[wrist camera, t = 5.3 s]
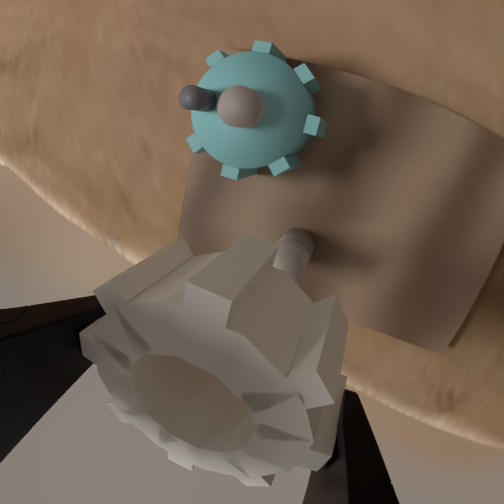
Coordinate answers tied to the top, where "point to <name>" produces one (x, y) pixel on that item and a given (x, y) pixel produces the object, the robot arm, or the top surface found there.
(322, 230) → the gear board
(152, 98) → the top surface
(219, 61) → the teal gear
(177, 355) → the off-white gear
